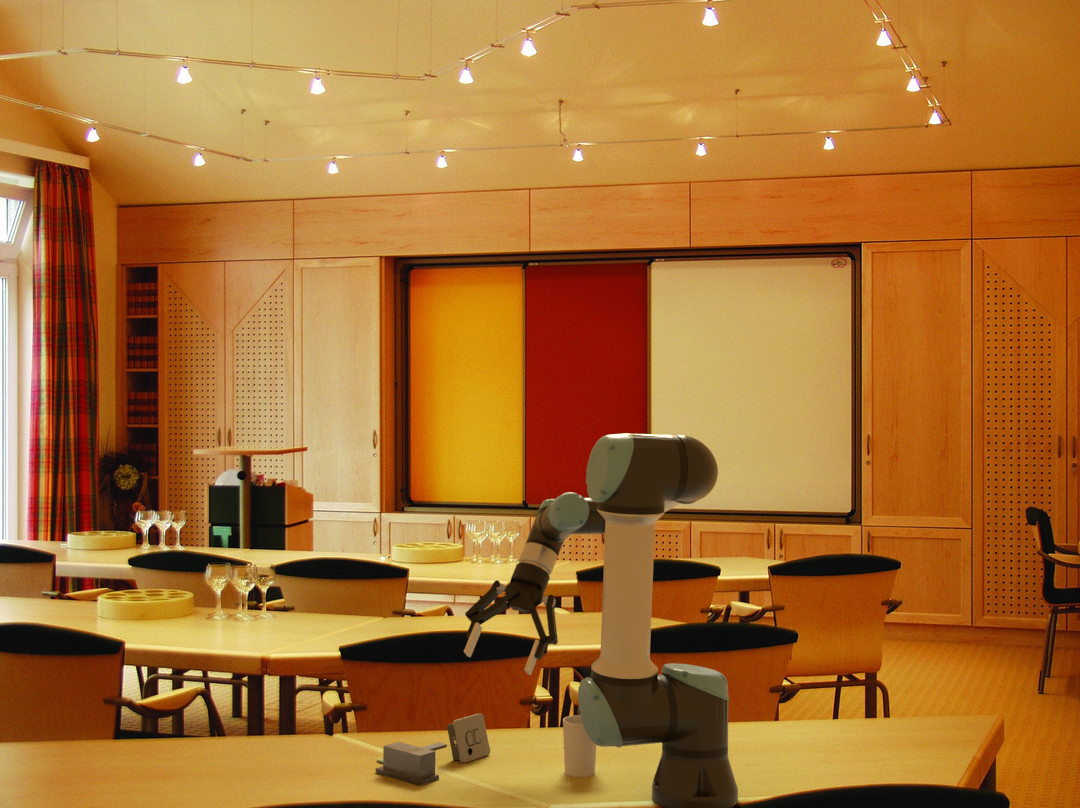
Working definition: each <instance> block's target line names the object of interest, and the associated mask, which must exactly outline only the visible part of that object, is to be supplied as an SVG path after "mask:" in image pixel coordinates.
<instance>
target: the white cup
mask: <svg viewBox="0 0 1080 808" xmlns="http://www.w3.org/2000/svg"><path fill="white" fill-rule="evenodd" d="M562 727H563V751H564V752H563V753H564V754H563V758H564V759H563V760H564V774H565V775H567V776H570V777H575V778H587V777H591V776H594V775H595V774H596V759H597V758H596V757H597V756H596V754H597V745H596V744H595V743H593V742H592V741H591V739H590V738H589V736H588V735H587V733H586V730H585V728H584V725H583V722H582V718H581V715H569V716H565V717H564V718H563V719H562Z"/></svg>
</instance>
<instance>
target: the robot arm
mask: <svg viewBox="0 0 1080 808" xmlns="http://www.w3.org/2000/svg"><path fill="white" fill-rule="evenodd" d="M718 467H719V466H718V464H717V460H716V458H715V456H714V453H713V452H712V451H711V449H710V448H709V447H708V446H707V445H706V444H704V443H703V442H702V441H700V439H697V438H695V437H692V436H689V435H684V434H675V433H674V434H658V433H657V434H653V433H652V434H651V433H628V432H626V433H614V434H606V435H604V436H602V437H600V438H599V439H597V442H595V444H594V446H593V447H592V449H591V452H590V454H589V458H588V462H587V466H586V472H585V474H586V476H585V484H586V485H587V487H586V491H587V495H588V497H583V496H582V495H580V494H579V493H577V492H571V491H569V492H564V493H562V494H561V495H559V496H556V498H550V499H548V498H547V499H545V500H543V501H542V502H541V505H540V507H539V509H538V510H537V511H536V513H535V518H534V521H533V523H532V526H531V529H530V531H529V533H528V536H527V539H526V541H525V544H524V545H523V548H522V551H521V553H520V555H519V557H518V559H517V560H518V561H517V562H518V563H517V564H516V566H515V568H514V570H513V572H512V575H511V577H510V581H509V583H508V584H503V583H501V582H500V581H499V580H496V579H495V580H494V582H493V584H491V586H490V589H488V591H486V593H485V594H483V596H482V597H480V598H479V599H478V600H477V601H476V602H475V603H474V604H473V605H472V606H471V607H470V608H469V609H468V610H467V611H466V612H465V616H466V618H467V620H468V621H470V624H469V627H468V629H467V632H466V638H467V639H468V640H467V642H466V645H465V647H464V649H463V653H464V654H465V655H466V657H468V658H471V657H472V655H473V653H474V650H475V647H476V645H477V642H478V641H479V638H480V636H481V633H482V630H483V627H482V625H483V624H484V623H486V622H488V621H489V620H491V619H492V618H494V617H495V616H497V615H499V614H500V613H502V612H503V611H507V610H509V609H510V608H511V609H512V611H513V610H514V611H519V612H520V611H521V613H524V614H527V613H530V616H531V618H532V619H531V620H532V621H533V624H534V626H535V629H536V632H537V635H538V637H539V639H534V643H533V645H532V648H531V651H530V652H529V653H530V654H529V656H528V659H527V661H526V663H525V666H524V669H523V670H524V672H525V673H526V674H527V675H529V676H531V675H532V673H533V671H534V668H535V666H536V663H537V660H539V661H540V660H541V659H543V656H544V654H545V652H546V648H547V647H548V645H557V644H558V641H559V638H558V630H557V622H556V614H555V609H556V606H557V600H556V598H555V596H554V595H553V594H549V595H544V594H545V592H546V589H547V586H548V584H549V581H550V580H551V579H550V578H551V577H550V575H552V573H553V570H554V567H555V565H556V562H557V560H558V557H559V555H560V552H561V550H562V547H563V545H564V542H565V540H566V539H568V537H570V536H572V535H603V534H604V549H603V551H604V552H603V579H602V599H601V600H602V602H601V603H602V605H601V628H600V629H601V633H600V655H599V657H598V658H597V659H596V660H595V661H594V662H593V663H592V664H591V666H590V667H591V669H590V677H587V676H586V677H585V678H583V679H581V681H580V682H579V686H578V689H577V690H578V692H577V698H578V700H577V701H578V708H579V715H580V716H581V718H582V722H583V725H584V728H585V730H586V733H587V735H588V736H589V738H590V739H591V741H592V742H593V743H595V744H596V746H598V747H604V748H605V747H606V748H607V747H616V748H622V747H627V746H641V745H653V744H661V756H660V759H659V763H658V765H657V768H656V771H655V774H654V778H653V780H652V784H651V798H652V800H653V801H654V802H655V803H656V804H658V805H660V806H662V807H663V808H734V807H733V805H734V804H735V803H737V802H738V803H739V787H738V785H737V783H736V778H735V774H734V773H733V769H732V765H731V761H730V759H729V701H730V697H729V686H728V680H727V678H726V676H725V675H724V674H723V673H721V672H720V671H718V670H716V669H713V668H712V669H711V668H708V667H704V666H699V665H694V664H688V663H678V662H677V663H674V662H671V663H665V664H663V666H662V667H661V668H662V669H661V670H660V671H661V673H660V674H659V667H658V666H657V665H656V664H655V663H653V661H652V660H651V637H652V635H651V634H652V633H651V632H652V614H653V613H652V608H653V583H654V581H653V579H654V560H655V559H654V558H655V557H654V555H655V534H656V533H655V531H656V530H655V529H656V522H657V521H658V520H659V519H660V518H662V516H663V515H664V514H665V513H666V512H668V511H670V510H671V509H673V508H675V507H678V506H679V505H691V504H694V503H696V502H698V501H700V500H702V499H703V498H705V497H707V496H708V495H709V494H710V493H711V492H712V490H713V489H714V487H715V486H716V483H717V481H718V475H719V471H718ZM503 592H504V593H505V595H503V596H502V597H500V598H499V599H498V601H496V602H495V603H493V604H492V602H494V601H495V600H496V599H497V598H498V597H499V595H502V594H503ZM542 603H543V605H544V606H545V608H546V609H545V610H546V618H547V619H546V620H547V631H548V635H547V634H546V631H545V629H544V627H543V623H542V620H541V618H540V615H539V612H538V609H537V607H538V606H539V605H541V604H542ZM491 604H492V605H491ZM489 605H490V606H489ZM738 803H737V804H738Z"/></svg>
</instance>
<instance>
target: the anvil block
mask: <svg viewBox="0 0 1080 808" xmlns="http://www.w3.org/2000/svg"><path fill="white" fill-rule="evenodd" d="M421 747H422V746H416V745H413V744H409V743H407V742H401V741H396V742H393V743H389V744H385V745H383V751H382V752H383V757H382V758H383V763H382V764H383V765H382V766H379V767H376V768H375V773H376V774H379V775H382V776H385V777H388V778H389V777H390V778H393V779H396V780H399V781H403V782H406V783H409V784H413V785H416V786H422V785H426V784H429V783H432V782H435V781H438V780H440V774H436V750H429V749H425V748H421Z"/></svg>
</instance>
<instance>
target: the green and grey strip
mask: <svg viewBox="0 0 1080 808" xmlns="http://www.w3.org/2000/svg"><path fill="white" fill-rule="evenodd" d="M447 746H448V744H447V743H443V742H441V741H440V742H435V743H431V744H428V745H424V746H420V747H421V748H425V749H429V750H432V751H436V750H439V749H443V748H446V747H447ZM376 762H378V763H381V764H383V757H381V758H378V759H377V761H376Z"/></svg>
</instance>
